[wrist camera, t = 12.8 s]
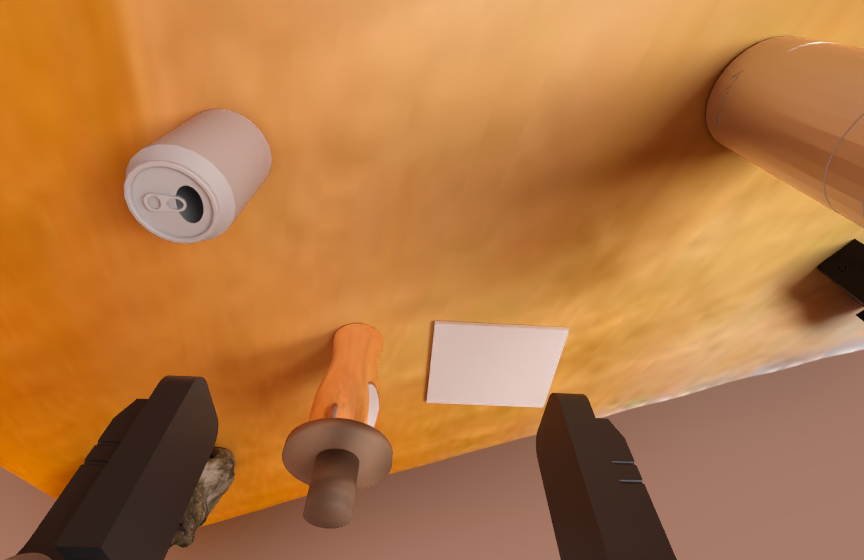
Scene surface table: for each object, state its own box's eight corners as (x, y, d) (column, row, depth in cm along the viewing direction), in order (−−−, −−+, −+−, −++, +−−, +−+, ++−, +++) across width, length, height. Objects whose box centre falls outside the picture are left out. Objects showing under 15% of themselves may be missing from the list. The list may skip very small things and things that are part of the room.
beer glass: (394, 328, 53) (384, 437, 40) (378, 367, 56) (365, 478, 44) (336, 313, 51) (308, 421, 39) (324, 355, 55) (295, 465, 43)
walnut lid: (393, 419, 39) (389, 484, 34) (391, 483, 45) (387, 546, 40) (278, 415, 39) (256, 480, 34) (291, 480, 44) (274, 543, 39)
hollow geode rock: (120, 466, 76) (132, 560, 73) (32, 490, 64) (43, 603, 61) (248, 422, 69) (269, 525, 65) (176, 440, 57) (197, 567, 53)
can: (274, 194, 43) (229, 260, 33) (193, 179, 42) (122, 243, 32) (274, 115, 39) (223, 164, 29) (184, 97, 38) (99, 142, 28)
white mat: (568, 327, 53) (569, 330, 53) (542, 404, 61) (543, 407, 61) (434, 320, 52) (434, 323, 52) (426, 399, 60) (426, 402, 60)
